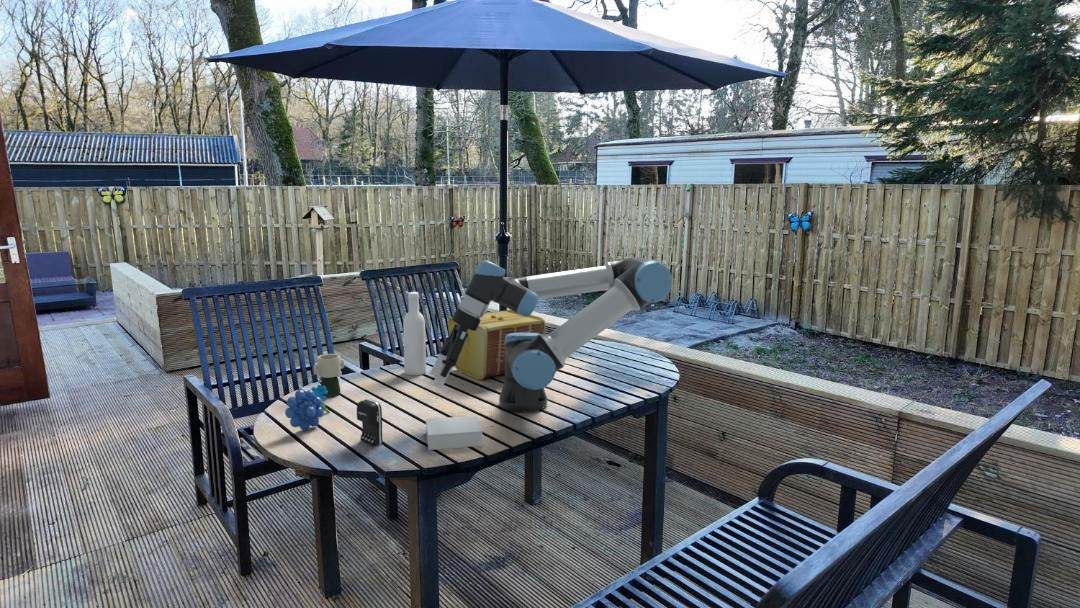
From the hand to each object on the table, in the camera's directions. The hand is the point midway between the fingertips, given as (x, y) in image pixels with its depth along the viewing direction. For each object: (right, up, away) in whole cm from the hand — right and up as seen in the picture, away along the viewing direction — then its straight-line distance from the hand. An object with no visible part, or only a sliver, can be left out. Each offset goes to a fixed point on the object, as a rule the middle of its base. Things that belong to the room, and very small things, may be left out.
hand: (435, 381), depth 174 cm
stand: (+6, -15, -6) cm, 17 cm away
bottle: (-17, -4, +57) cm, 59 cm away
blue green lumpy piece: (-39, -11, +14) cm, 43 cm away
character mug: (-40, -8, +30) cm, 50 cm away
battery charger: (-16, -15, -9) cm, 24 cm away
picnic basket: (+13, -4, +62) cm, 63 cm away
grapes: (-35, -14, -1) cm, 38 cm away
